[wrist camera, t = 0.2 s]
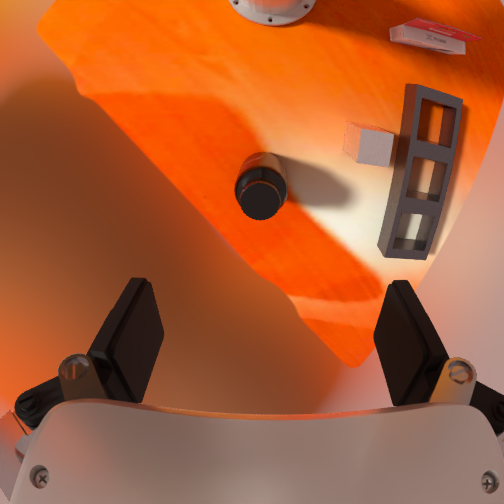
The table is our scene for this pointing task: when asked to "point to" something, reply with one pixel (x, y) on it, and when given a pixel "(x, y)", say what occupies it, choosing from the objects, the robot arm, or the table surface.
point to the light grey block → (368, 144)
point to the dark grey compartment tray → (407, 149)
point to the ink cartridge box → (431, 36)
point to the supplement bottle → (261, 186)
